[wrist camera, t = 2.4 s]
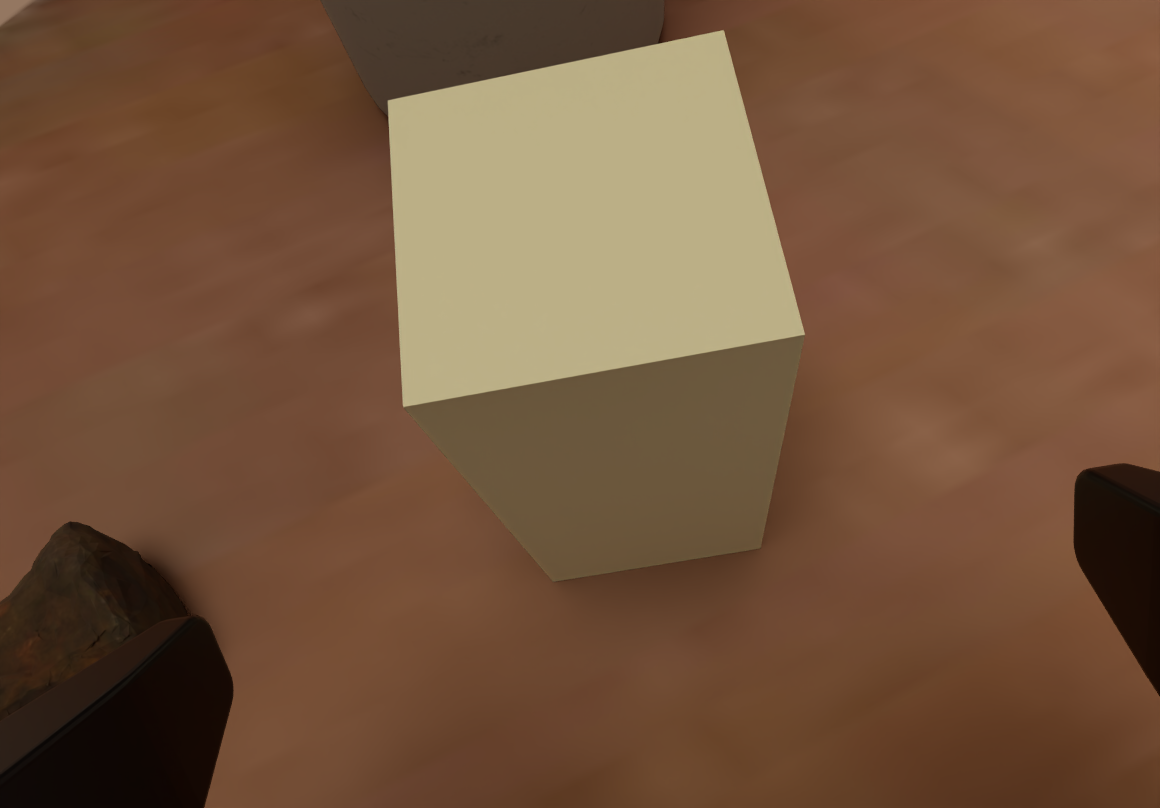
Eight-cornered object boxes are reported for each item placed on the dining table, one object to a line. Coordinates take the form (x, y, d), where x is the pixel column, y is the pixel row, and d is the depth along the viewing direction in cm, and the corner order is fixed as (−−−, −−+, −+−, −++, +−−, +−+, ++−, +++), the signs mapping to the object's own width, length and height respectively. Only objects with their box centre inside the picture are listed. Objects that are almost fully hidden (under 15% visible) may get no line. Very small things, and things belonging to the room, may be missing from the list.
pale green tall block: (760, 548, 20) (805, 334, 10) (552, 582, 21) (403, 406, 11) (719, 360, 22) (723, 30, 12) (531, 394, 23) (387, 99, 13)
